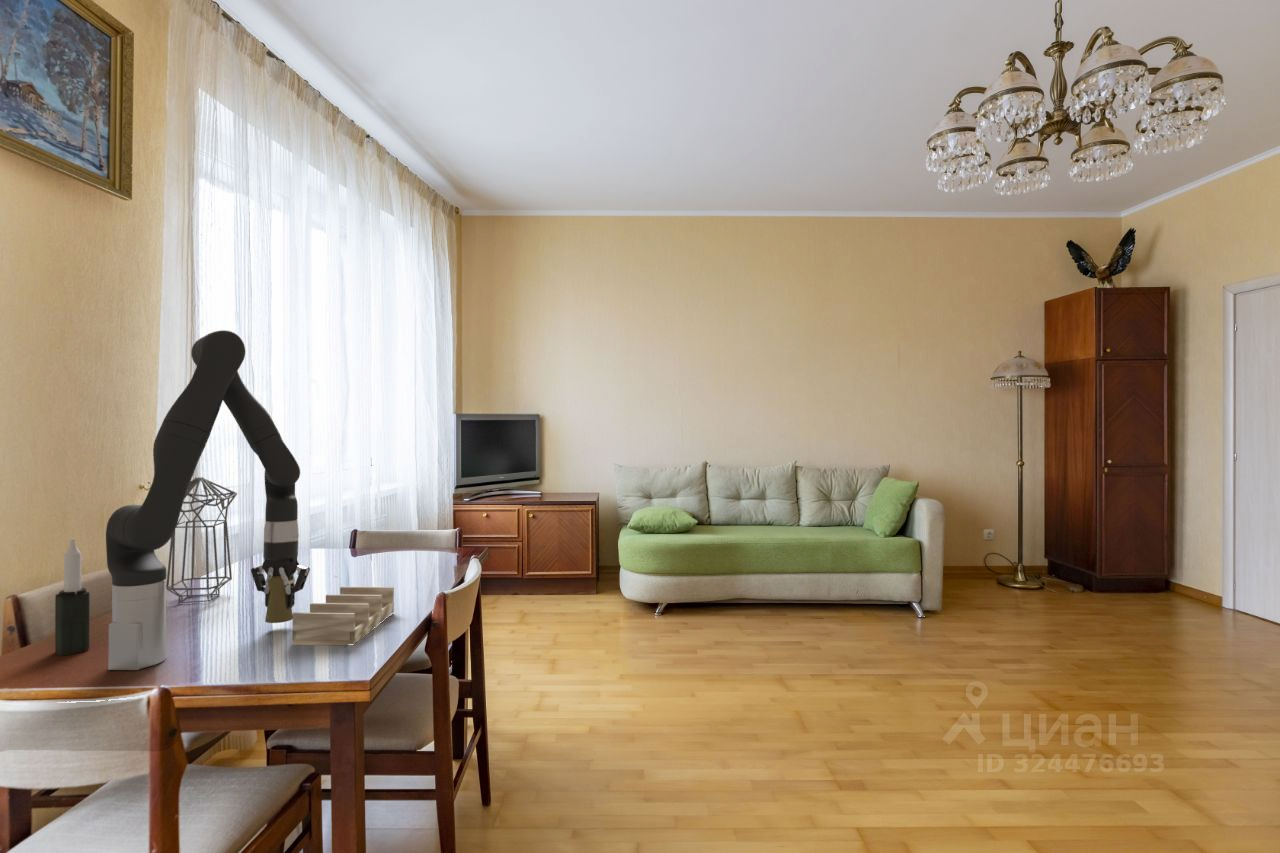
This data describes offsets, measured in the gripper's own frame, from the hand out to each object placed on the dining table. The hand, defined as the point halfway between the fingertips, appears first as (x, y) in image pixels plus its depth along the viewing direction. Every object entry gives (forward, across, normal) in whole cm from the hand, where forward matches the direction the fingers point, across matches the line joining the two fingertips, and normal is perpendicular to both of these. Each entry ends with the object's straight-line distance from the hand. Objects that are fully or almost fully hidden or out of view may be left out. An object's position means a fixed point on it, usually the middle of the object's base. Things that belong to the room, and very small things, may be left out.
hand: (279, 608), depth 166 cm
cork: (+3, 0, 0) cm, 3 cm away
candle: (+6, -37, -17) cm, 41 cm away
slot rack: (+5, +16, +2) cm, 17 cm away
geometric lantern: (+5, -38, +26) cm, 46 cm away
